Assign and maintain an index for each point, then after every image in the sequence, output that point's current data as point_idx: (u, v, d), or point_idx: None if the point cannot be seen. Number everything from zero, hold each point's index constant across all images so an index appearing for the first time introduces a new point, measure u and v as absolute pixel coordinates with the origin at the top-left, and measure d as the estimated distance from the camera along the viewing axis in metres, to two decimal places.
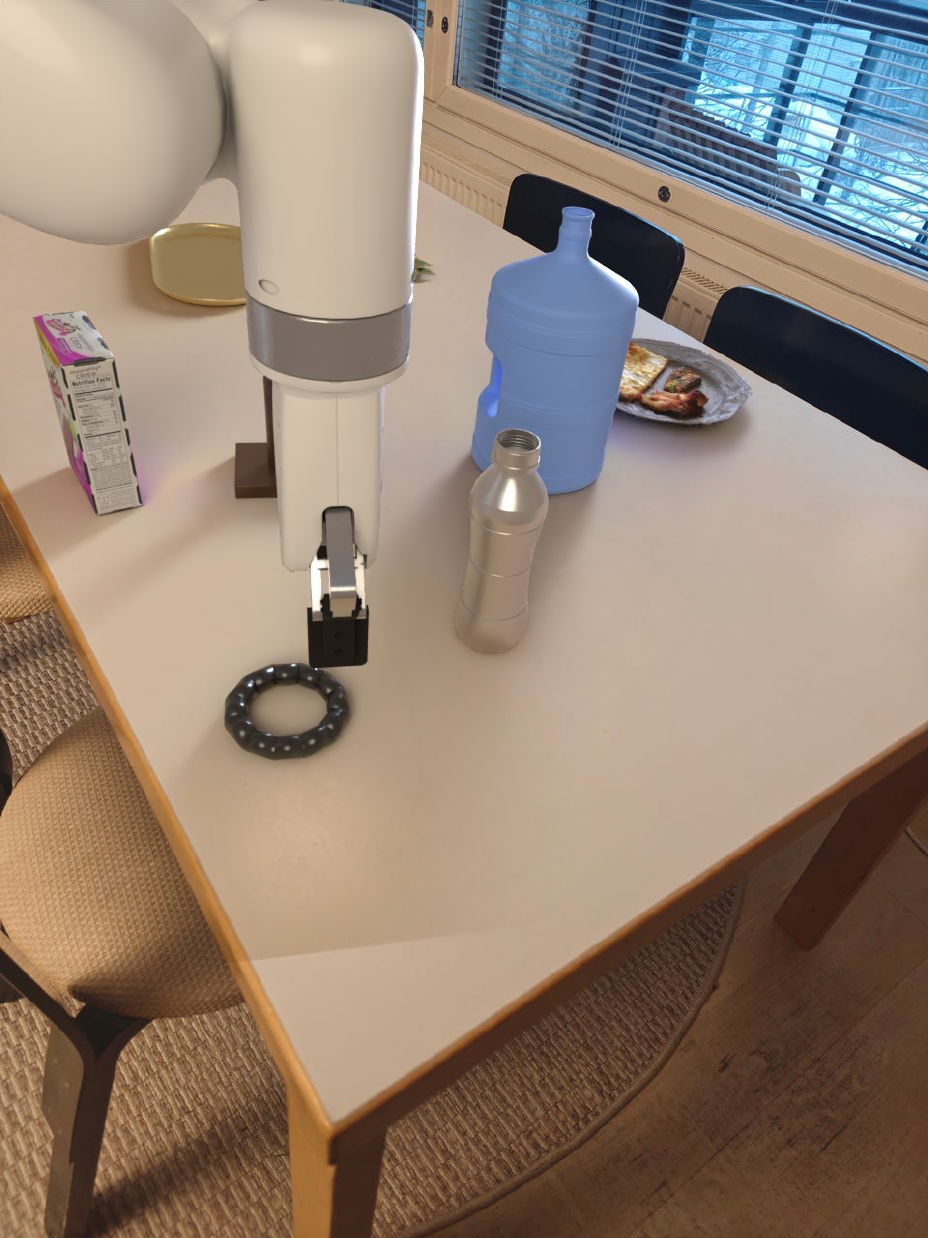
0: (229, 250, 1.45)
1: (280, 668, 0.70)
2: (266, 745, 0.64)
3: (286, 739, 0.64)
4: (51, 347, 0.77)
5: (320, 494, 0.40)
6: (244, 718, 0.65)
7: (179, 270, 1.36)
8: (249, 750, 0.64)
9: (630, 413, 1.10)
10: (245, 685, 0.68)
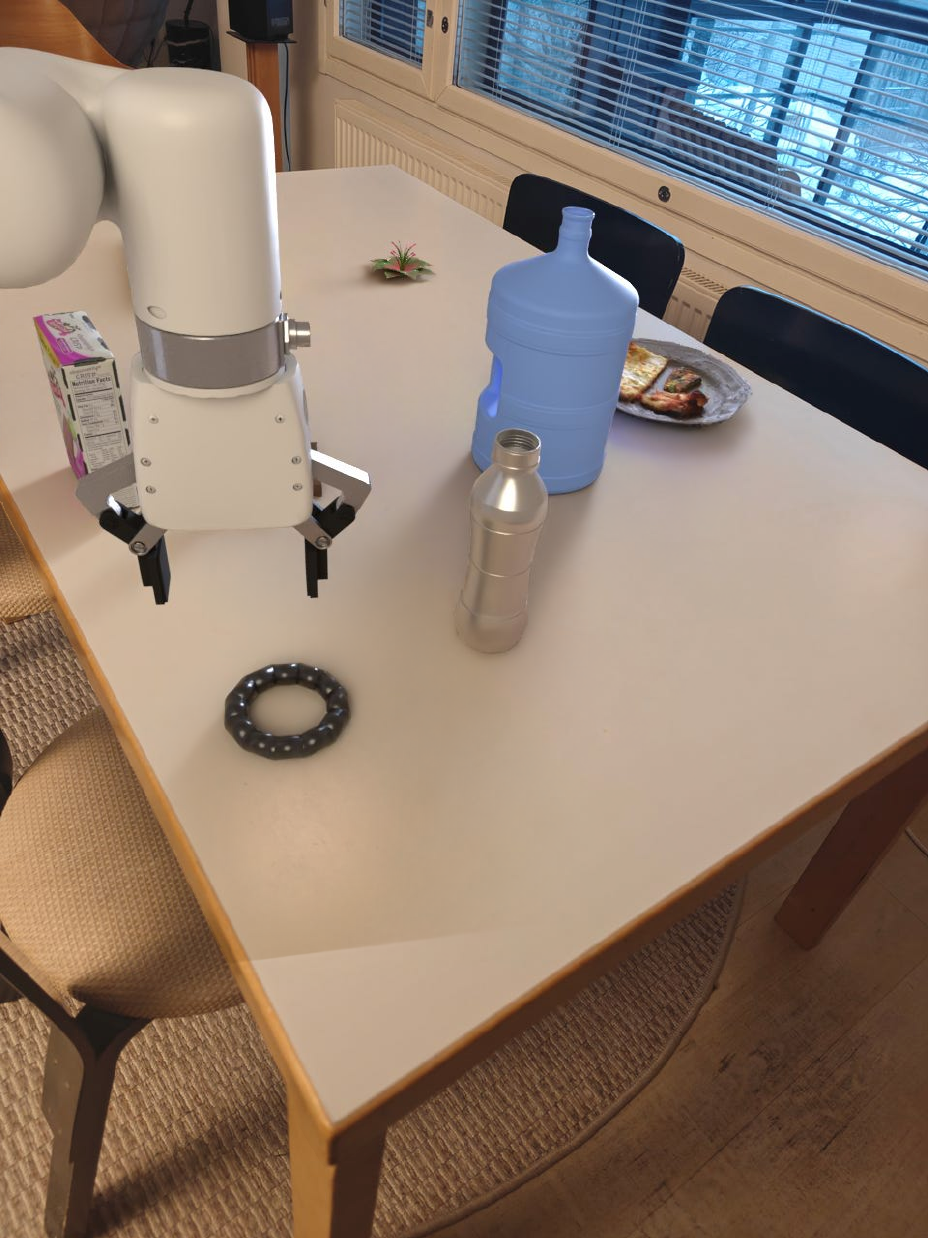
0: None
1: (280, 668, 0.70)
2: (266, 745, 0.64)
3: (286, 739, 0.64)
4: (51, 347, 0.77)
5: None
6: (244, 718, 0.65)
7: None
8: (249, 750, 0.64)
9: (630, 413, 1.10)
10: (245, 685, 0.68)
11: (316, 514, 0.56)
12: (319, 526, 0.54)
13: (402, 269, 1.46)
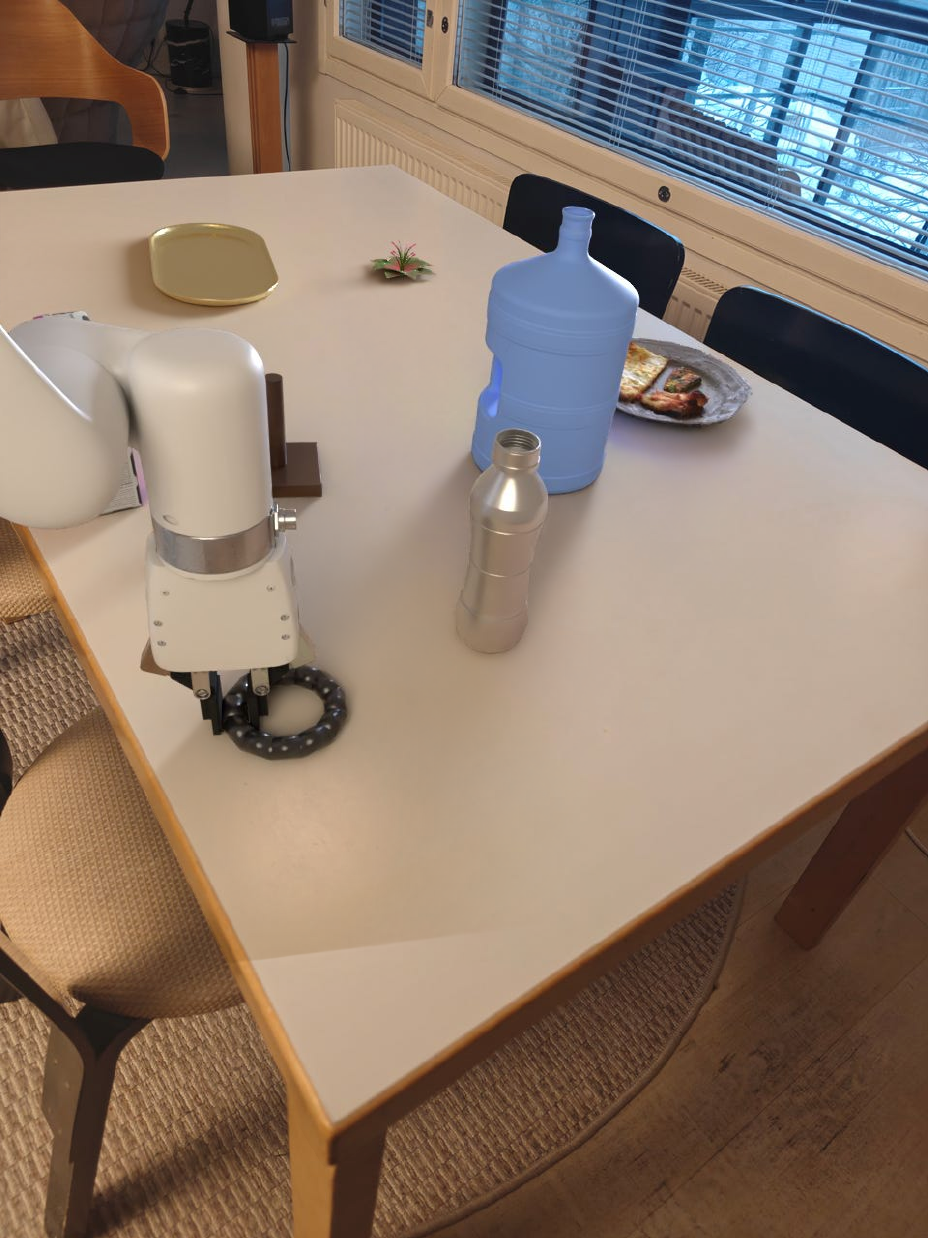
0: (229, 250, 1.45)
1: None
2: (263, 745, 0.64)
3: (283, 739, 0.64)
4: None
5: None
6: (242, 718, 0.65)
7: (179, 270, 1.36)
8: (246, 750, 0.64)
9: (630, 413, 1.10)
10: (242, 685, 0.68)
11: None
12: (268, 679, 0.63)
13: (402, 269, 1.46)
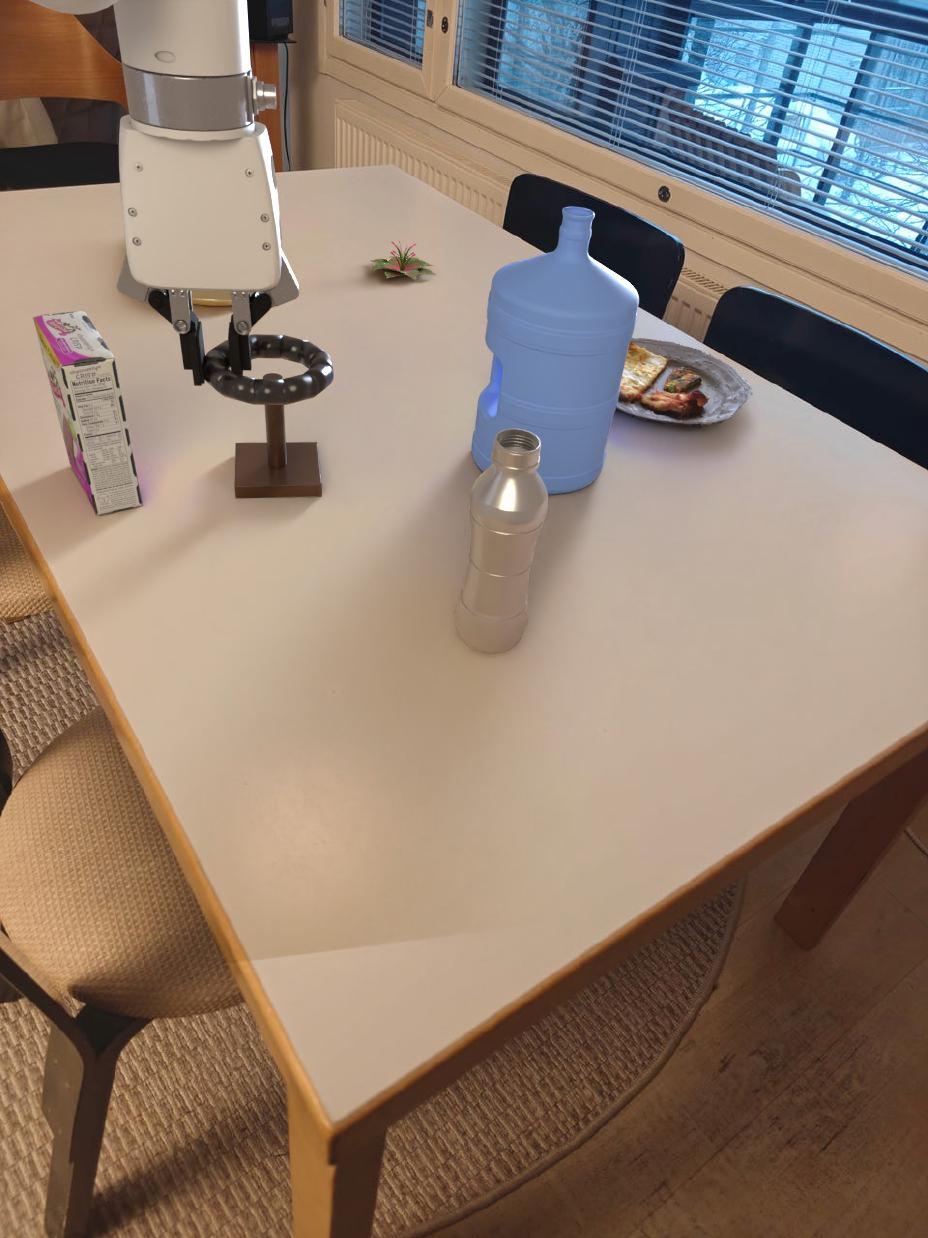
0: None
1: (263, 336, 0.67)
2: (245, 384, 0.61)
3: (266, 380, 0.62)
4: (51, 347, 0.77)
5: None
6: (224, 365, 0.63)
7: None
8: (227, 392, 0.62)
9: (630, 413, 1.10)
10: (226, 344, 0.66)
11: None
12: (250, 312, 0.61)
13: (402, 269, 1.46)
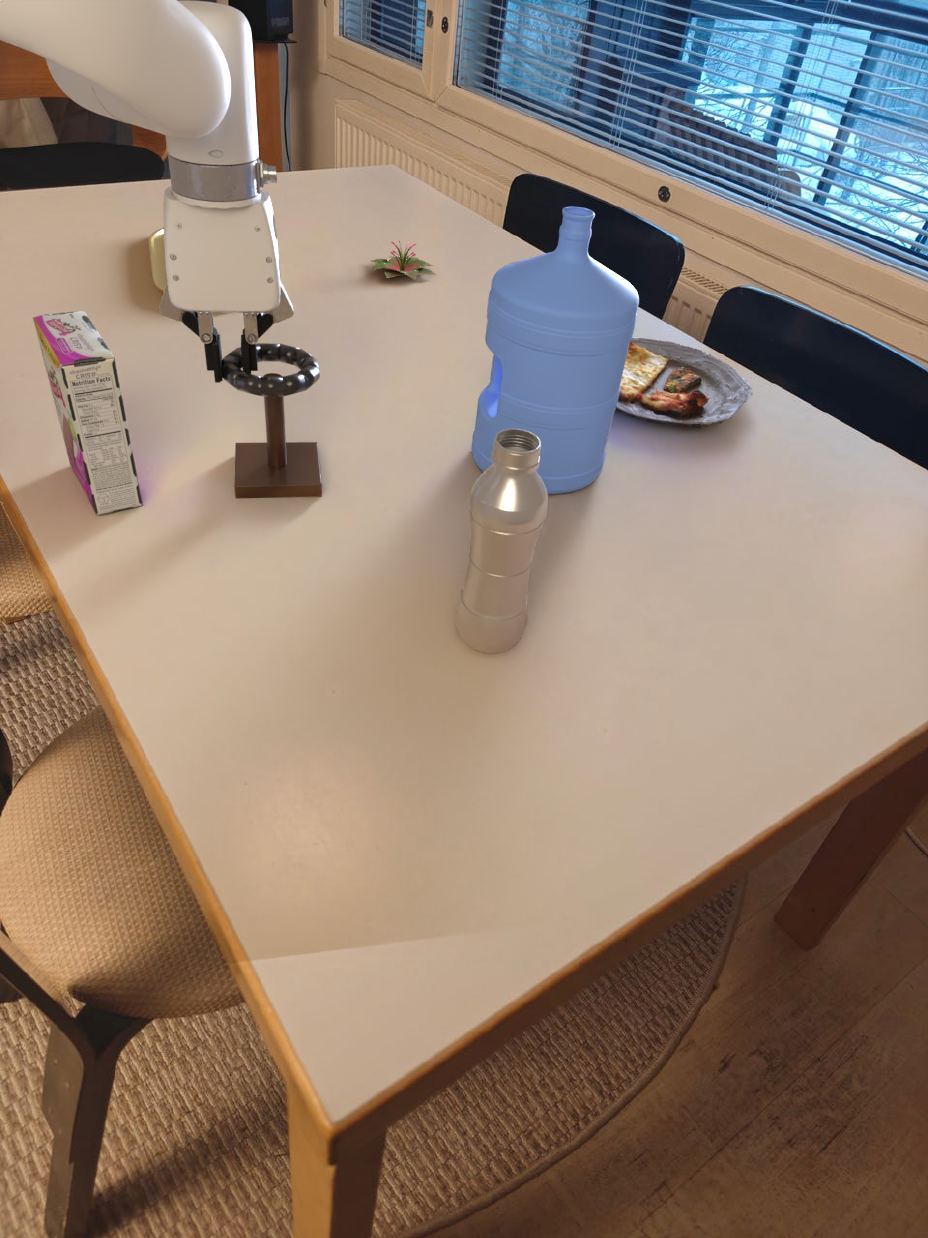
0: None
1: (265, 344, 0.89)
2: (254, 380, 0.83)
3: (269, 378, 0.83)
4: (51, 347, 0.77)
5: None
6: (237, 367, 0.84)
7: None
8: (241, 386, 0.83)
9: (630, 413, 1.10)
10: (237, 351, 0.87)
11: None
12: (257, 328, 0.82)
13: (402, 269, 1.46)
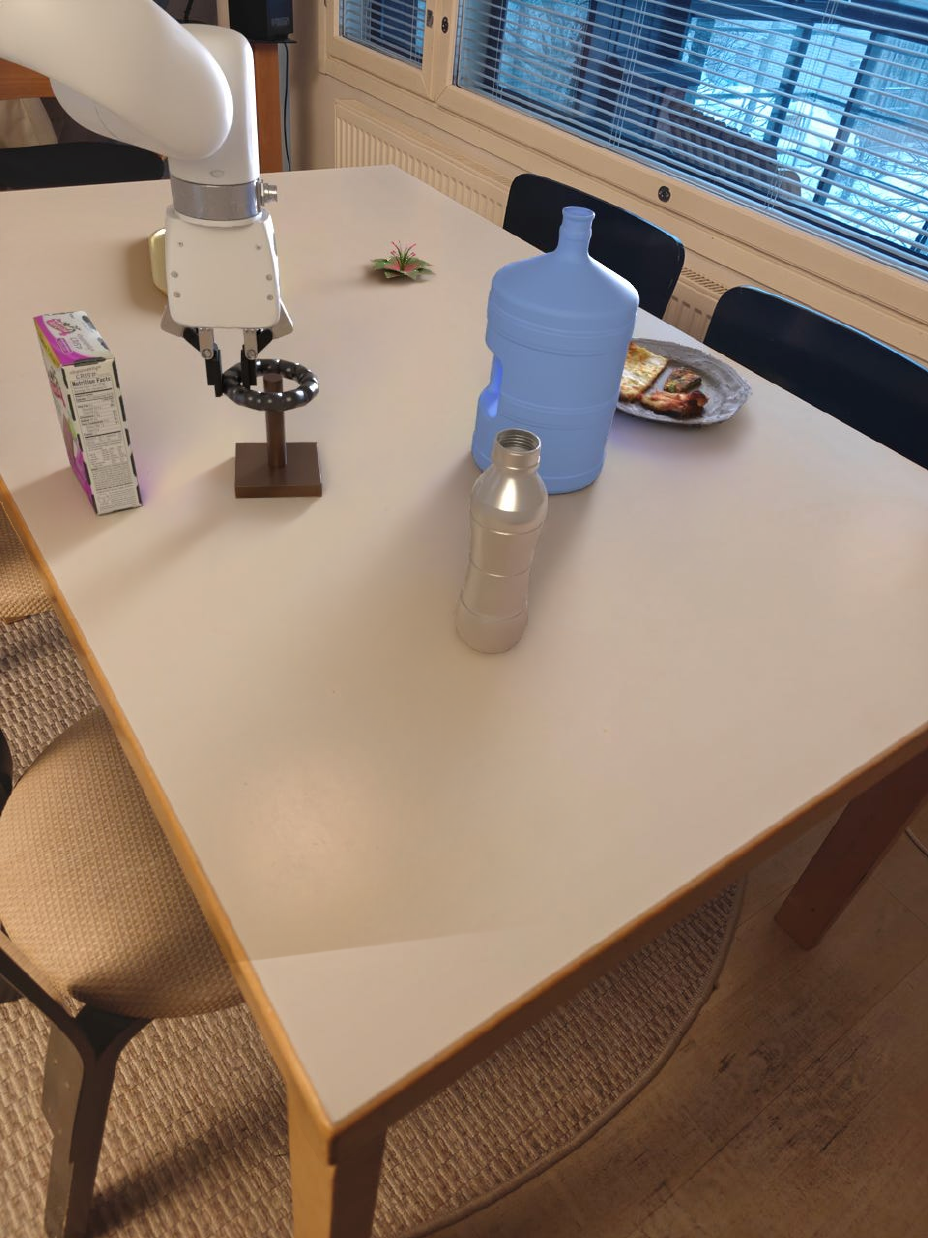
0: None
1: (265, 360, 0.90)
2: (253, 395, 0.84)
3: (269, 393, 0.84)
4: (51, 347, 0.77)
5: None
6: (237, 382, 0.85)
7: None
8: (240, 401, 0.84)
9: (630, 413, 1.10)
10: (238, 366, 0.88)
11: None
12: (256, 343, 0.83)
13: (402, 269, 1.46)
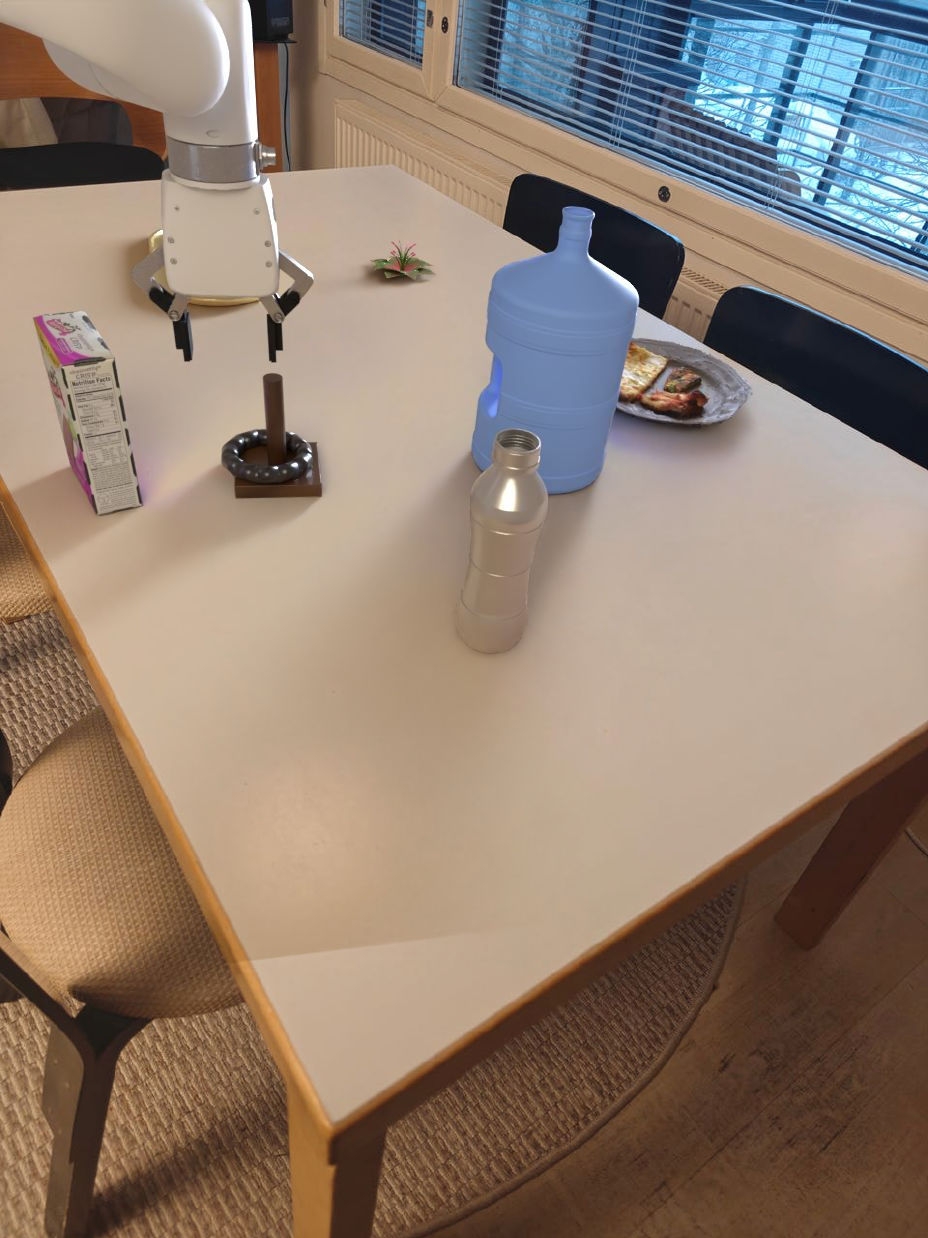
0: None
1: (262, 431, 0.95)
2: (251, 470, 0.89)
3: (266, 467, 0.90)
4: (51, 347, 0.77)
5: None
6: (236, 456, 0.91)
7: None
8: (239, 475, 0.90)
9: (630, 413, 1.10)
10: (236, 438, 0.93)
11: None
12: (278, 304, 0.81)
13: (402, 269, 1.46)
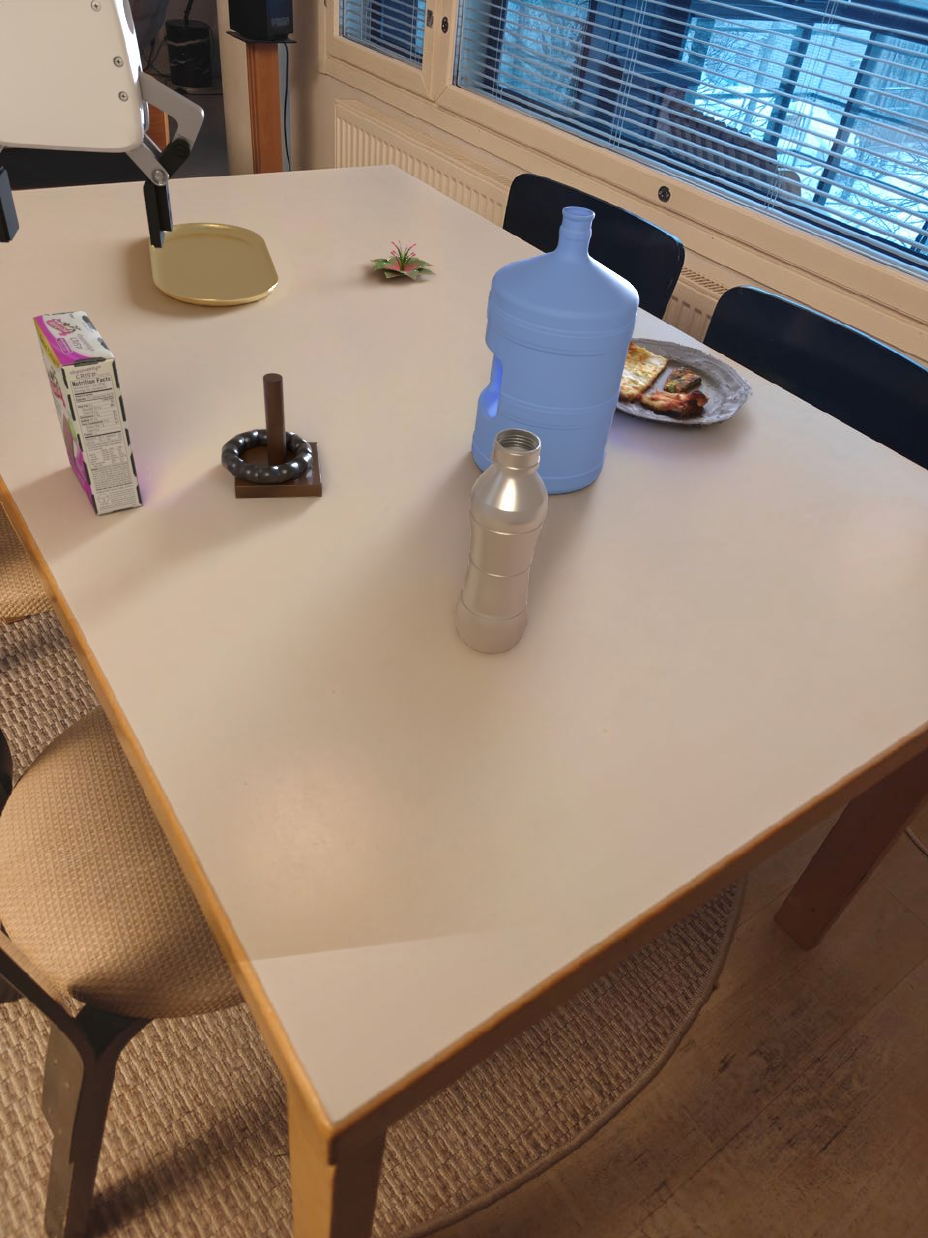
0: (229, 250, 1.45)
1: (262, 431, 0.95)
2: (251, 470, 0.89)
3: (266, 467, 0.90)
4: (51, 347, 0.77)
5: None
6: (236, 456, 0.91)
7: (179, 270, 1.36)
8: (239, 475, 0.90)
9: (630, 413, 1.10)
10: (236, 438, 0.93)
11: (156, 156, 0.58)
12: (153, 156, 0.56)
13: (402, 269, 1.46)
